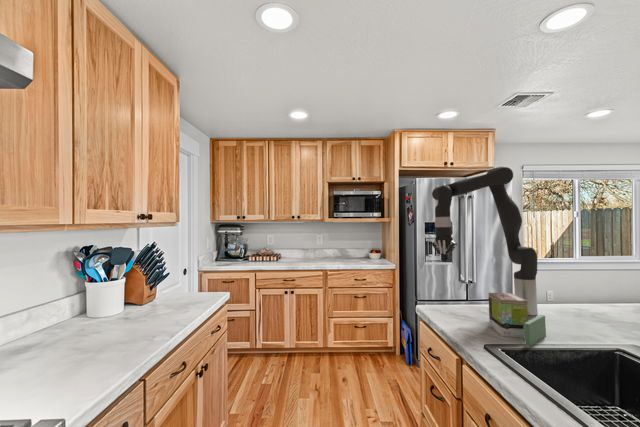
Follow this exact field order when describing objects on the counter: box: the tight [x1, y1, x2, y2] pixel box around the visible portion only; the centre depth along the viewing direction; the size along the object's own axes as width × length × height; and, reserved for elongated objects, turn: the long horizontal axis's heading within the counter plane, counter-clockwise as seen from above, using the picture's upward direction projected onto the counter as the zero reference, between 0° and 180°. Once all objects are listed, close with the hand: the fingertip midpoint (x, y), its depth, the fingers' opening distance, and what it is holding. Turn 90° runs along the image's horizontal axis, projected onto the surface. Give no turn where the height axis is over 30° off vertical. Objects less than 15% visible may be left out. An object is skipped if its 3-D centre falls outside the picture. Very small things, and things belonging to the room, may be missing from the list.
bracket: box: [523, 314, 547, 347], centre depth 118 cm, size 17×2×8 cm, turn 128°
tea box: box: [488, 292, 529, 339], centre depth 128 cm, size 15×10×15 cm, turn 169°
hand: (444, 261), depth 150 cm, fingers closed
